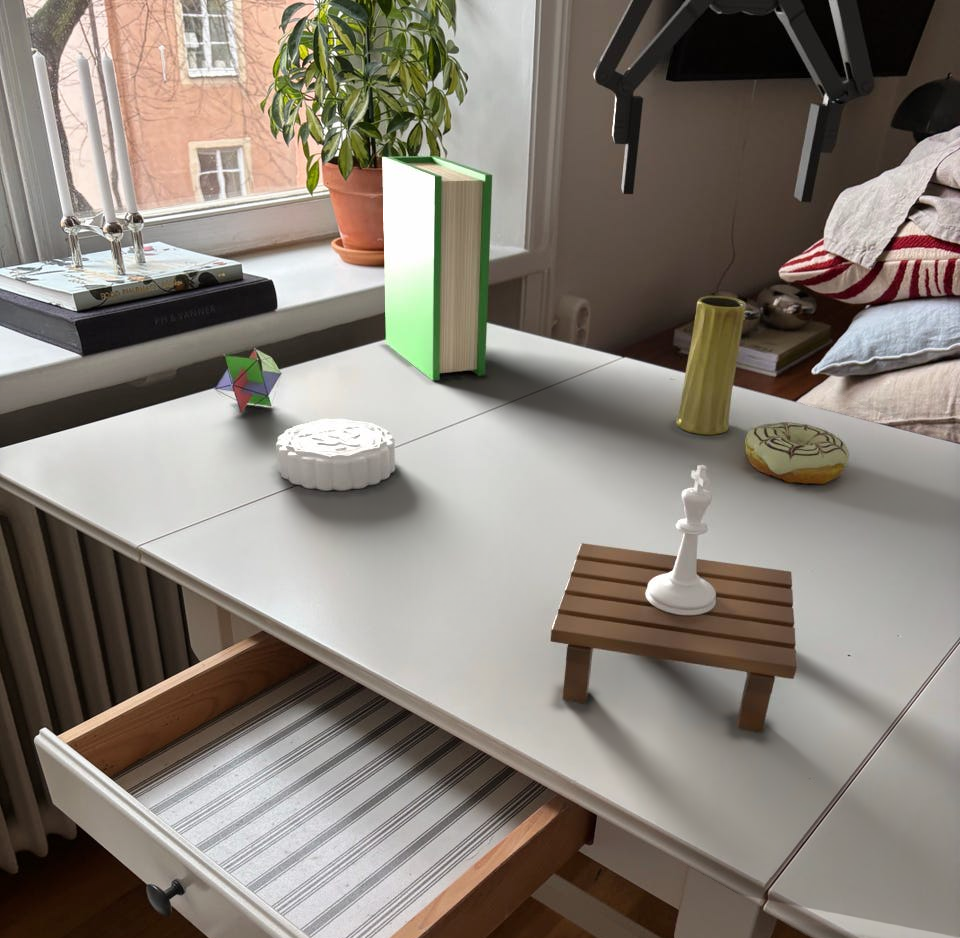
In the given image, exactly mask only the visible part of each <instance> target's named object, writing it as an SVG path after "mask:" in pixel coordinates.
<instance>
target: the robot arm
mask: <svg viewBox="0 0 960 938" xmlns="http://www.w3.org/2000/svg"><path fill="white" fill-rule="evenodd" d="M653 1H654V0H630V2H629V3H628V6H627V7H626V9H625V11H624V13H623V15H622V17H621V19H620V20H619V23H618V24H617V27H616V28H615V30H614V32H613V34H612V36H611V38H610V39H609V41H608V43H607V46H606V47H605V49H604V51H603V53H602V55H601V56H600V59H599V61H598V62H597V65H596V66H595V67H594V68H595V69H594V71H593V79H594V81H595V83H596V84H597V85H600V86H601V87H604V88H606V89H608V90H610V91H611V92H612V93H613V94H614V98H615V99H614V110H613V111H614V112H613V120H612V123H613V124H612V131H611V132H612V133H611V136H612V140H613V144H615V145H625V146H624V158H623V166H622V167H623V168H622V177H621V188H620V189H621V191H622V194H623V195H634V188H635V180H636V179H635V178H636V171H637V162H638V161H637V159H638V151H639V142H640V133H641V122H642V114H643V105H644V98H643V97H642V96H641V95H634V92H635V91H636V89H638V87H639V86H640V85H641V84H642V83H643V82H644V81H645V79H646V78H647V77H648V76H649V75H650V74H651V72H652V71H653V70H654V69H655V68H656V67H657V66H658V64H660V62H661V61H662V60H663V59H664V58H665V57H666V55H667V54H668V53H669V52H670V51H671V50H672V49H673V47H674V46H675V45H676V44H677V43H678V41H680V39H681V38H682V37H683V36H684V35H685V34H686V32H687V31H688V30H689V29H690V28H691V27H692V26H693V24H694V23H695V22H696V21H697V20H698V19H699V18H700V17H701V16H702V15H703V14H704V13H705V11H707V10H708V8H710V9H711V10H712V11H714V12H715V13H717V14H722V15H733V14H737V13H741V12H742V13H744V14H746V15H749V16H766V15H767V14H771V12H773V11H774V12H775V14H776V16H777V18H778V19H779V21H780V22H781V23H782V25H783V27H784V28H785V30H786V32H787V34H788V36H789V37H790V39H791V41H792V43H793V45H794V47H795V49H796V51H797V53H798V55H799V56H800V58H801V60H802V61H803V63H804V65H805V67H806V69H807V71H808V72H809V75H810V76H811V79H812V80H813V82H814V84H815V86H816V88H817V89H818V91H819V93H820V95H821V97H822V99H823V101H822V102H821V103H820V102H811V103H810V107H809V113H808V120H807V123H806V130H805V134H804V139H803V144H802V145H803V146H802V150H801V156H800V162H799V166H798V172H797V177H796V183H795V188H794V195H793V197H794V199H795V198H796V199H797V200H798V201H799V202H801V203H812V199H813V194H814V189H815V184H816V180H817V179H816V178H817V174H818V168H819V163H820V158H821V154H823V153H824V154H825V153H826V154H832V153H833V152H834V149H835V148H836V146H837V141H838V136H839V130H840V125H841V120H842V117H843V111H844V108H845V106H846V105H847V104H848V103H849V102H851V101H852V100H855V99H858V98H861V97H867V96H869V95H871V94H872V93H873V91H874V90H875V87H876V86H875V79H874V75H873V70H872V65H871V61H870V57H869V52H868V48H867V47H868V46H867V42H866V38H865V34H864V30H863V25H862V20H861V16H860V11H859V6H858V2H857V0H828V3H829V7H830V12H831V16H832V20H833V24H834V29H835V33H836V37H837V38H836V39H837V41H838V47H839V51H840V55H841V58H842V64H843V67H844V72H845V76H846V80H842V79H841V76H840V75H839V72H838V71H837V68H836V67H835V65H834V63H833V61H832V59H831V58H830V56H829V54H828V52H827V50H826V48H825V46H824V45H823V43H822V40H821V39H820V37H819V35H818V33H817V32H816V30H815V27H814V26H813V24H812V22H811V20H810V18H809V16H808V14H807V12H806V9H805V6H804V3H803V2H802V0H685V1H684V2H683V3H682V4H681V6H680V7H679V8H678V9H677V10H676V12H675V13H674V14H673V15H672V16H671V17H670V19H669V20H668V21H666V23H665V25H664V26H663V27H662V28H661V29H660V30H659V32H658V33H657V34H656V35H655V36H654V37H653V38H652V40H651V41H650V42H649V43H648V44H647V45H646V47H645V48H644V49H643V50H642V52H641V53H639V54H638V56H637V57H636V58H635V60H634V61H633V62H632V63H631V64H630V65H629V67H628V68H627V69H626V70H625V71H624V72H623V73H622V72H621V73H620V72H619V71H616V70H617V68H618V66H619V65H620V62H621V60H622V59H623V57H624V55H625V53H626V51H627V49H628V47H629V45H630V44H631V41H632V40H633V38H634V36H635V35H636V32H637V30H638V28H639V27H640V25H641V23H642V21H643V19H644V18H645V15H646V14H647V12H648V10H649V8H650V6H651V4H652V3H653Z"/></svg>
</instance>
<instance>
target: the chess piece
mask: <svg viewBox="0 0 960 938" xmlns="http://www.w3.org/2000/svg"><path fill="white" fill-rule="evenodd" d="M706 474H707V466H706V465H704V464H697V466H696V469H695V470H691V474H690V477H691V479H693V480H694V484H693V487H688V488H685V489H683V491H682V492H681V499H682V500H681V501H682V503H683V508H684V509H683V510H684V515H685V518H680V519H679V520H677V522H676V524H675V528H676V529H677V530H678V531H679V532H681V533H683V535H682V539H681V542H680V545H679V549H678V552H677V555H676V556H677V559H676V563H675V566H674V569H673V571H671V572H669V573H667V574H662V575H659V576H656V577H654V578H653V579H652V580H651V581H650V582H649V584H648V588H647V590H646V598H647V600H648V601H649V602H650V603H651V604H652V605H653V606H655V607H656V608H658V609H660V610H663V611H665V612H668V613H672V614H677V615H699V614H703V613H706V612H708V611H710V610H711V609H712V608H713V607H714V606H715V603H716V599H715V597H716V592H715V590H714V588H713V587H712V585H711V584H709V583H708V582H707V581H705V580H703V579H701V578H700V577H699V576H698V575H697V572H696V566H697V559H698V541H699V540H698V539H699V536H700V535H704V534H706V533H707V532H708V531H709V528H708V524H707V523H706V522H705V521H704V520H702V519H703V516H705V514H706V511H707V509H708V507H709V506H710V504H711V502H712V500H713V494H712V492H710V491H709V490H708V489H705V488H704V487H709V485H710V479H709V478H708V477H707V476H706Z"/></svg>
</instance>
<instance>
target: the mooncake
mask: <svg viewBox="0 0 960 938" xmlns="http://www.w3.org/2000/svg"><path fill="white" fill-rule="evenodd" d="M395 442H396V440H395V438H394V436H392V435H391V433H390V431H388V430H386V429H384V428H383V427H380V426H378V425H376V424H374V423H373V422H365V421H354V420H349V419H346V418H335V419H334V418H333V419H330V418H322V419H319V420H317V421H316V420H315V421H312V422H309V423H303V424H298V425H294V426H293V427H292V428H288V429H286V430H285V431H284V433H283V434H281V435H279V436H278V437H277V442H276V443H275V450H276V462H277V470H278V472H280V476H281V478H282V479H285V480H288V481H289V482H290V483H291V484H292V485H296V486H302V487H303V488H305V489H310V490H313V489H318V490H319V491H322V492H323V491H324V492H327V491H328V492H329V491H339V492H345V491H349V490H352V489H354V490H361V489H364V488H366V487H367V486H375V485H378V484H379V483H380V482H381V481H384V480H387V479H389V477H390V476H391V474H393V473H394V472H395V470H396V445H395V444H396V443H395Z"/></svg>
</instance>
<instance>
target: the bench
mask: <svg viewBox="0 0 960 938" xmlns="http://www.w3.org/2000/svg"><path fill="white" fill-rule="evenodd" d="M677 556H678V555H671V554H665V553H659V552H650V551H643V550H636V549H628V548H622V547H613V546H606V545H599V544H590V543H584V542H582V543H580V546H579V548H578V551H577V554H576V558H575V560H574V563H573V566H572V568H571V572H570V576H569V578H568V580H567V582H566V583H567V584H566V585H565V589H564V594H563V595H562V597H561V600H560V603H559V606H558V609H557V614H556V616H555V618H554V621H553V624H552V626H551V631H550V642H551V643H557V644H564V645H567V647H566V657H565V669H564V680H563V691H562V700H563V701H570V702H575V703H580V704H581V703H582V704H586V700H587V698H588V694H589V687H590V679H591V671H592V670H591V669H592V662H593V653H594V649H595V650H596V649H597V650H602V651H609V652H616V653H622V654H629V655H635V656H641V657H647V658H648V657H649V658H654V659H660V660H668V661H672V662H673V661H675V662H680V663H687V664H693V665H701V666H707V667H711V668H712V667H713V668H720V669H724V670H732V671H739V672H745V673H746V677H745V683H744V687H743V692H742V695H741V702H740V706H739V710H738V715H737V718H738V719H737V728H738V729H739V730H746V731H752V732H758V733H763V729H764V726H765V722H766V717H767V713H768V709H769V704H770V700H771V695H772V693H773V689H774V684H775V681H776V677H777V678H783V679H791V680H794V679H795V677H796V673H797V668H798V666H797V665H798V664H797V650H796V645H797V644H796V629H795V627H794V626H795V611H794V608H793V606H794V595H793V593H794V592H793V589H792V587H793V578H792V575H793V574H792V571H790V570H783V569H775V568H768V567H761V566H754V565H747V564H738V563H731V562H723V561H716V560H708V559H701V558H697V566H696V572H697V575H698V576H699V577H700V578H701V579H703V580H705V581H707V582H708V583H709V584H711V585H712V587H713V588H714V590H715V592H716V597H715V599H716V603H715V606H714V607H713V608H712V609H711V610H710V611H708V612H706V613H703V614H699V615H677V614H672V613H668V612H665V611H663V610H660V609H658V608H656V607H655V606H653V605H652V604H651V603H650V602H649V601H648V600H647V598H646V590H647V588H648V584H649V582H650V581H651V580H652V579H653V578H654V577H656V576H659V575H662V574H667V573H669V572H671V571H673V569H674V566H675V563H676V559H677Z"/></svg>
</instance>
